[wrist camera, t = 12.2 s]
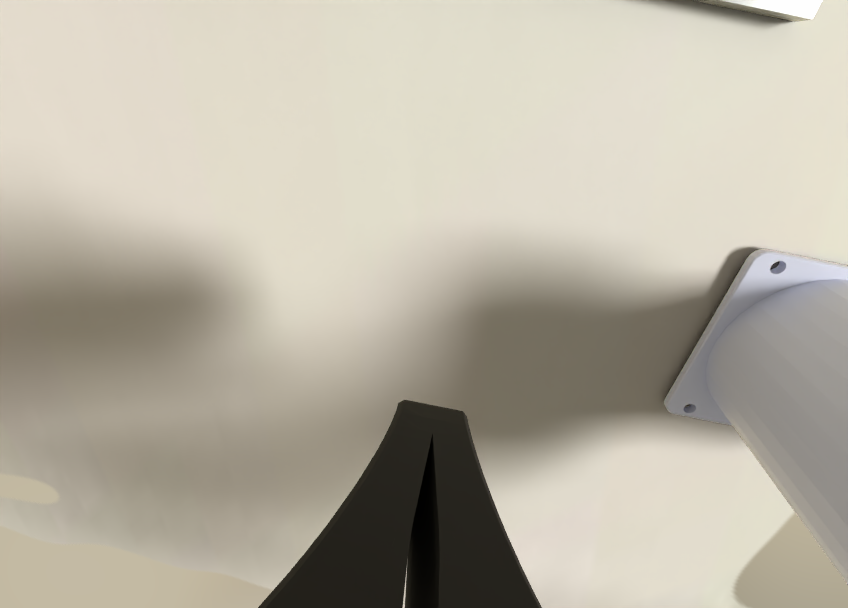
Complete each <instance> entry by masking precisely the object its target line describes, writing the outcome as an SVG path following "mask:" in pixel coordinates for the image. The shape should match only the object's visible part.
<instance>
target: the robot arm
mask: <svg viewBox="0 0 848 608" xmlns="http://www.w3.org/2000/svg"><path fill="white" fill-rule="evenodd" d="M777 261H780V262H779V265H778V266H777V267H776V268H774V269H772V270H770V268H771V266H772V265H773V264H774V263H775V262H777ZM688 404H691V405H690V406H688V407H685V406H686V405H688ZM664 405H665V407H666V409H667V410H668V411H669V412H670V413H672V414H676V415H681V416H686V417H691V418H696V419H701V420H706V421H711V422H716V423H721V424H726V425H732V426H733V427H734V428H735V430H736V431H737V433H738V434H739V435H740V437H741V438H742V439H743V441H744V442H745V444H746V445H747V446H748V448H749V449H750V451H751V452H752V453H753V455H754V456H755V457H756V459H757V460H758V462H759V463H760V464H761V466H762V467H763V468H764V470H765V471H766V473H767V474H768V475H769V477H770V478H771V480H772V481H773V482H774V484H775V485H776V486H777V488H778V489H779V491H780V492H781V493H782V495H783V496H784V498H785V499H786V500H787V502H788V503H789V504H790V506H791V507H792V509H793V510H794V511H795V513H796V514H797V515H798V517H799V518H800V519H801V521H802V522H803V524H804V525H805V527H806V528H807V529H808V531H809V532H810V533H811V535H812V536H813V538H814V539H815V540H816V542H817V543H818V544H819V545H820V547H821V549H822V550H823V551H824V553H825V554H826V556H827V557H828V558H829V560H830V561H831V563H832V564H833V565H834V567H835V568H836V569H837V571H838V572H839V574H840V575H841V576H842V578H843V579H844V580H845V582H846V583H847V584H848V265H844V264H839V263H834V262H829V261H824V260H819V259H814V258H809V257H804V256H799V255H794V254H789V253H784V252H779V251H774V250H769V249H759V250H756V251H754V252H753V253H751V254H750V255H749V256H748V257H747V259H746V260H745V262H744V264H743V266H742V267H741V269H740V271H739V272H738V274H737V276H736V278H735V279H734V281H733V283H732V284H731V286H730V288H729V290H728V291H727V293H726V295H725V296H724V298H723V300H722V302H721V303H720V305H719V307H718V308H717V310H716V312H715V314H714V315H713V317H712V319H711V321H710V322H709V324H708V326H707V327H706V329H705V331H704V333H703V334H702V336H701V338H700V339H699V341H698V343H697V345H696V346H695V348H694V350H693V351H692V353H691V355H690V357H689V358H688V360H687V362H686V363H685V365H684V367H683V369H682V370H681V372H680V374H679V375H678V377H677V379H676V381H675V382H674V384H673V386H672V387H671V389H670V391H669V393H668V394H667V396H666V398H665V400H664ZM407 558H408V560H407ZM406 568H407V579H406V598H405V608H542V607H541V605H540V603H539V601H538V599H537V597H536V596H535V594H534V592H533V589H532V587H531V585H530V583H529V581H528V579H527V577H526V575H525V573H524V571H523V569H522V567H521V565H520V563H519V560H518V558H517V556H516V554H515V551H514V549H513V547H512V545H511V542H510V540H509V538H508V536H507V533H506V531H505V529H504V526H503V524H502V522H501V519H500V517H499V514H498V512H497V509H496V507H495V504H494V501H493V499H492V496H491V494H490V491H489V488H488V486H487V483H486V480H485V477H484V475H483V472H482V469H481V466H480V463H479V460H478V457H477V454H476V450H475V447H474V444H473V440H472V437H471V433H470V429H469V425H468V420H467V416H466V415H465V414H464V412H463V411H458V410H453V409H448V408H443V407H438V406H433V405H428V404H423V403H418V402H413V401H408V400H404V401H402V402H400V403H398V406H397V410H396V413H395V415H394V418H393V420H392V423H391V425H390V427H389V429H388V431H387V433H386V435H385V437H384V439H383V441H382V442H381V444H380V446H379V448H378V450H377V451H376V453H375V455H374V456H373V458H372V460H371V461H370V463H369V464H368V466H367V468H366V469H365V471H364V473H363V474H362V476H361V478H360V479H359V481H358V482H357V484H356V485H355V487H354V488H353V489H352V491H351V492H350V494H349V495H348V496H347V498H346V499H345V501H344V502H343V504H342V505H341V506H340V508H339V509H338V511H337V512H336V513H335V515H334V516H333V518H332V519H331V520H330V522H329V523H328V524H327V526H326V527H325V528H324V530H323V531H322V532H321V534H320V535H319V536H318V537H317V539H316V540H315V541H314V542H313V544H312V545H311V546H310V548H309V549H308V550H307V551H306V552H305V554H304V555H303V556H302V557H301V559H300V560H299V561H298V562H297V563H296V565H295V566H294V567H293V568H292V569H291V571H290V572H289V573H288V574H287V575H286V577H285V578H284V579H283V580H282V581H281V582H280V583H279V585H278V586H277V587H276V588H275V589H274V590H273V591H272V592H271V594H270V595H269V596H268V597H267V598H266V599H265V600H264V602H263V603H262V604H261V605H260V606H259V607H258V608H402V606H403V597H404V587H405V577H406Z"/></svg>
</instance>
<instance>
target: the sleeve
mask: <svg viewBox="0 0 848 608" xmlns="http://www.w3.org/2000/svg"><path fill="white" fill-rule="evenodd" d="M692 1H697V2H702V3H707V4H712V5H716V6H721V7H726V8H731V9H736V10H741V11H746V12H750V13H755V14H760V15H765V16H770V17H775V18H779V19H784V20H789V21H794V22H796V21H804V20H812V19H813V18H814V16H815V14H816V12H817V10H818V8H819V6H820V4H821V2H822V0H692Z"/></svg>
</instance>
